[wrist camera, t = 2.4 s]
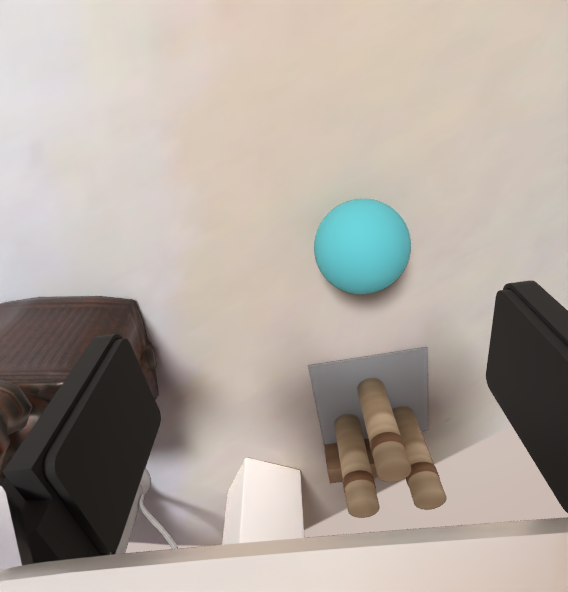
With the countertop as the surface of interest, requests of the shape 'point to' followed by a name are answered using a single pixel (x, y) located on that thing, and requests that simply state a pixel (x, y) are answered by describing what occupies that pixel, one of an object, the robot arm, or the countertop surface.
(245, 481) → the milk
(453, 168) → the countertop surface
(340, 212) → the ball
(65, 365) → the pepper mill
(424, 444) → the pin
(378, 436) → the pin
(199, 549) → the robot arm
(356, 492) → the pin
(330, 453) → the back wall
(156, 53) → the countertop surface
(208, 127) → the countertop surface
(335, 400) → the pin deck mark
